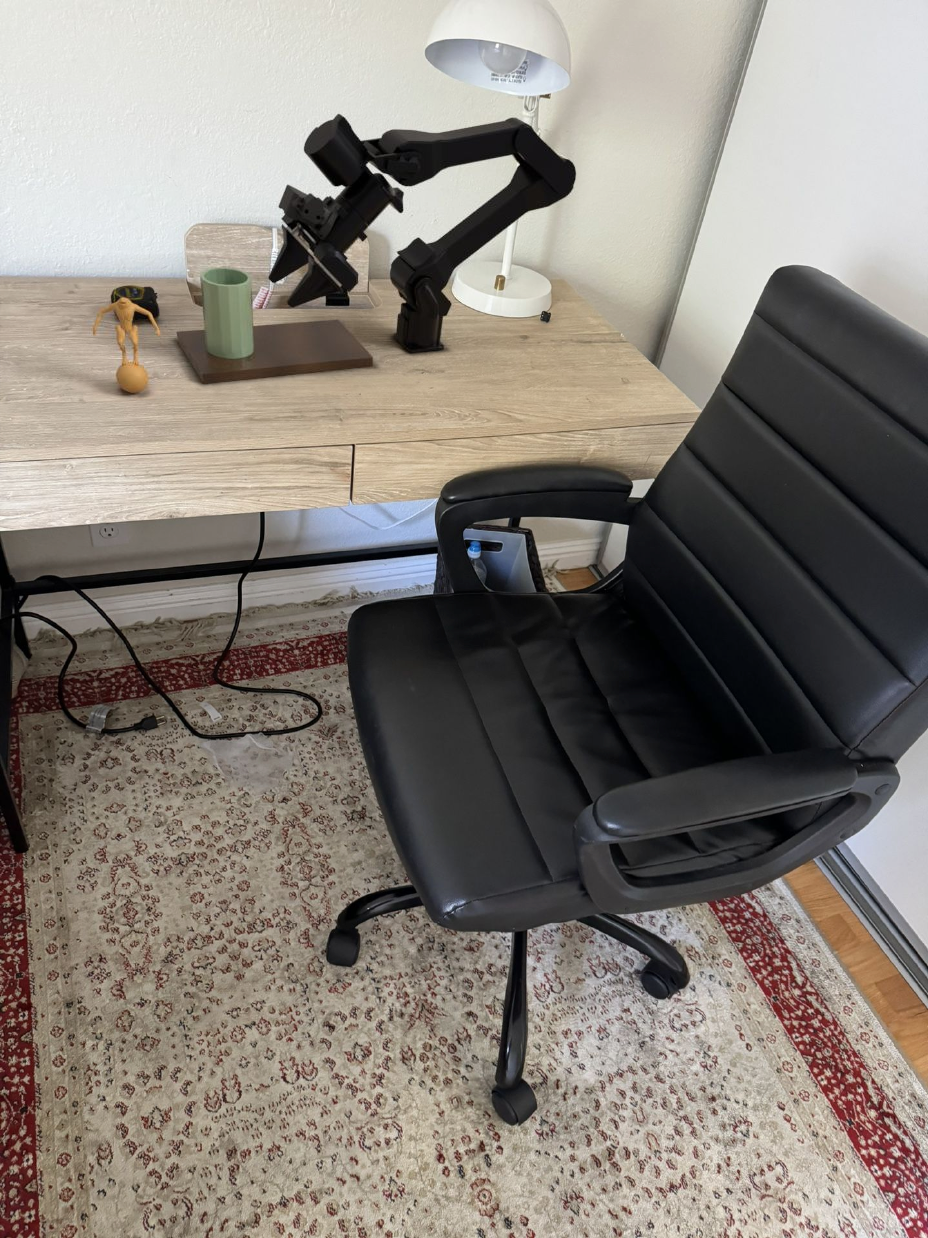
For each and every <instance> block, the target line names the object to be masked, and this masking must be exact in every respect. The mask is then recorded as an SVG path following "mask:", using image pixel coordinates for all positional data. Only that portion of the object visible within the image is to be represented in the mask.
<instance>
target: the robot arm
mask: <svg viewBox="0 0 928 1238" xmlns="http://www.w3.org/2000/svg"><path fill="white" fill-rule="evenodd" d="M303 152H304V154H305V155H306V156H307V157H308V158H309V160H310V161H311V162H312V163H313V164H314V166H315V167H316V168H317V169H318V170H319V171H320V172H321V174H322V175H323V177H325V179H326V180H327V181H328V182H329V183H330V185H332V186H333V187H341V186H342V187H344V188H343V189H342V190H341V191H340V192H339V193H338V195H337V196H335V198H333V197H332V195H329V196H327V195H326V197H324V199H321V198H320V197H319V196H318V197H317V196H315V195H314V194H313V193H311V192H310V193H308V194H307V193H305V192H304V191H302V190H300V189H298V188H296V187H295V186H292V185H290V184H286V186H285V189H284V191H283V194H282V196H281V199H280V201H279V204H278V208H279V209H280V210H282V211H283V214H284V215H283V216H282V217H281V218H280V219H281V220H282V222H283V223H284V224H283V223H282V224H281V230H282V238H283V242H282V246H281V248H280V251H279V253H278V255H277V257H276V260H275V262H274V264H273V266H272V268H271V271H269V275H268V281H270V282H271V283H272V284H275V283H278V282H279V281H281V280H283V279H285V278H286V277H288V276H290V275H291V274H294V272H296V271H298V270H299V269H301V268H303V267H304V266H306V265H308V266H307V271H306V273H305V274H304V276H303V277H302V279H300V281H299V283H298V284H297V286H296V287H295V288H294V290H293V291H292V293H291V294H290V296H289V297H288V298H287V300H286V305H288V306H289V307H290V308H296V307H299V306H302V305H303V304H304V305H305V304H306V303H309V302H312V301H314V300H317V299H318V300H319V299H320V298H323V297H327V296H329V295H333V294H336V293H337V294H338V293H340V294H342V293H344V290H345V291H347V292H348V293H350V292H351V291H352V290H354V288H355V287H357V285H359V272H358V271H357V270H356V269H355V268H354V267H353V266H352V265H351V264H350V262H348V256H347V255H346V252H347V251H349V249H350V248H351V247H352V246H353V245H354V244H355V242H357V241H358V239H359V240H360V241H361V242H362V243H363V242H365V240H367V238H368V237H369V236H368V235H367V234H366V233H365V232H366V230H368V228H369V227H370V226H371V225H372V224H373V223H374V222H375V221H376V219H377V218H378V217H379V216H380V215H381V214H382V213H383V212H384V211H385V210H386V208H387V207H389V206H391V207H392V208H393V209H394V210H395V211H397V212H398V213H399V214H402V213H404V195H405V192H404V191H403V190H402V189H401V188H399V187H393V185H392V184H390V182H389V181H388V179H387V178H386V177H385V176H384V175H387V176H388V177H390V178H391V179H392V180H394V181H395V182H397V183H398V184H399V185H401V186H403V187H414V186H417V185H419V184H422V183H424V182H426V181H429V180H431V179H433V178H435V177H436V176H437V175H438V174H439V173H440V172H442V171H444V170H446V169H449V168H453V167H457V166H462V165H468V164H471V163H472V164H473V163H477V162H482V161H489V160H493V159H498V158H504V157H507V156H512V158H514V160H515V161H516V162H517V163H518V166H517V167H516V168H515V171H514V173H513V176H512V177H511V180H510V182H509V183H508V184H507V185H506V186H505V187H504V188H502V189H501V190H500V191H498V192H497V193H496V194H495V195H493V196H492V197H491V198H490V199H488V200H486V202H484V203H483V204H482V205H481V206H479V207H478V208H477V209H476V210H474V211H473V212H471V213H470V214H469V215H468V216H467V217H465V218H464V219H463V220H461V221H460V222H459V223H457V224H456V225H455V226H454V227H452V228H451V229H450V230H449V231H447V232H445V234H443V235H442V236H440V238H438V239H437V240H435V241H433V242H428V243H426V242H425V241H424V240H422V238H420V237H416V238H415V239H413V240H412V241H411V242H410V243H409V244H408V245H407V246H406V247H404V248H403V249H400V250H397V251H396V254H397V255H398V256H396V257H395V258H394V259H393V261H392V262H391V264H390V270H389V280H390V282H391V284H392V285H393V286H394V288H395V289H396V290H397V292H398V296H399V297H400V298H401V299H402V300H404V302H401V303H400V312H399V313H398V314H397V317H396V318H397V319H396V329H395V330H396V331H395V333H393V338H395V339H396V341H398V342H399V343H400V344H401V346H403V348H404V349H406V351H407V352H409V353H420V352H421V353H422V352H430V351H441V350H445V345H444V344H443V343H442V342H441V339H442V338H441V336H442V329H443V328H442V327H443V322H444V317H447V316H448V314H449V312H450V309H451V307H452V305H453V304H452V302H451V300H449V298H448V297H447V296H446V295H445V293H444V292H443V291H444V289H445V288H446V287H447V285H448V283H449V281H450V279H451V277H452V275H453V273H454V271H455V270H456V268H457V267H459V266H460V265H461V264H462V263H464V262H465V261H467V260H468V259H469V258H470V257H471V256H473V255H475V254H476V253H477V252H478V251H479V250H480V249H482V248H483V247H484V246H486V245H487V244H488V243H489V242H491V241H492V240H493V239H495V238H496V237H497V236H499V235H500V234H501V233H502V232H503V231H505V230H506V229H508V228H509V227H510V226H511V225H513V224H514V223H515V222H517V221H518V220H519V219H521V218H522V217H523V216H525V215H526V214H527V213H529V212H532V211H537V210H540V209H546V208H549V207H551V206H552V205H555V204H556V203H558V202H560V201H562V200H564V199H565V198H567V197H568V196H569V195H570V194H571V193H572V191H573V190H574V188H575V186H574V185H575V183H576V180H577V179H576V178H577V171H576V166H575V164H574V162H573V161H572V160H570V159H569V158H567V157H566V156H564V155H562V154H561V153H558V152H556V151H555V150H554V149H552V147H551V146H549V144H547V143H546V142H545V141H544V140H543V139H542V137H540V135H538V133H537V132H536V131H535V129H534V128H533V126H532V125H531V124H528V123H527V122H524V121H523V120H522V119H519V118H518V117H509V118H507V119H505V120H500V121H496V122H490V123H485V124H479V125H474V126H469V127H468V126H467V127H462V128H458V129H452V130H451V129H450V130H446V131H441V132H428V131H422V130H416V129H401V128H397V129H396V128H393V129H389V130H387V131H384V133H382V135H381V137H377V138H370V139H362V140H361V139H360V138H359V137H358V135H357V134H356V133H355V131H354V129H353V127H352V125H351V124H350V122H349V121H348V119H347V118H346V117H345V116H343V114H340V113H337V114H336V115H335V116H334V118H333V119H329V120H326V121H325V122H323V123H322V124H320V125H319V126H316V127H314V128H313V130H312V131H311V132H310V133H309V135H308V136H307V138H306V140H305V141H304V145H303ZM368 164H370V165H372V166H373V167H374V168H375V169H376V170H378V171H379V172H375V173H373V172H372V170H370V168H369V167H368ZM284 225H286V226H284ZM309 250H310V251H311V252H312V253H313V254H312V253H311V252H310V251H309ZM315 258H316V260H317V261H318V262H317V261H316V260H315ZM342 287H343V288H344V289H342Z"/></svg>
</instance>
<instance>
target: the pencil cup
mask: <svg viewBox="0 0 928 1238" xmlns="http://www.w3.org/2000/svg"><path fill="white" fill-rule="evenodd" d="M199 277H200V278H199V279H200V280H199V281H200V292H201V304H202V305H201V306H202V316H203V318H202V319H203V330H204V331H205V343H206V349H207V351H208V352H209V353H211V354H212V355H214V356H217V357H221V358H227V359H238V358H243V357H247V356H249V355H251V354H252V353H253V351H254V329H253V326H254V308H253V305H254V304H253V281H252V278H253V277H252V276H251V275H250V273H248V272H246V271H244V270H243V269H242V270H241V269H238V268H233V267H224V266H223V267H211V268H207V269H205V270H203V271H201V273H200V274H199Z"/></svg>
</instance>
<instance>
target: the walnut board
mask: <svg viewBox="0 0 928 1238" xmlns="http://www.w3.org/2000/svg"><path fill="white" fill-rule="evenodd" d="M253 329H254V351H253V353H252V354H251V355H249V356H247V357H243V358H238V359H227V358H221V357H217V356H214V355H212V354H211V353H209V352H208V351H207V349H206V343H205V331H204V329H193V330H181V331H180V330H179V331H176V339H177V340H176V341H177V342H178V344H179V346H180V348H181V350H182V351H183V352H184V354H185V356H186V358H187V359H188V361H189V362H190V364H191V366H192V368H193V370H194V371H195V373H196V374H197V376H198V378H199V379H200V381H201V382H202V384H203V385H205V384H213V383H214V384H215V383H222V382H224V383H225V382H232V381H242V380H243V381H244V380H253V379H263V378H271V377H280V376H290V375H291V376H292V375H301V374H310V373H319V372H329V371H338V370H347V369H357V368H366V367H367V368H369V367H373V362H374V357H373V355H372V354H371V353H370V352H369V351H368V350H367V349H366V347H364V346H363V344H362V343H361V342H360V341H359V339H357V338H356V336H354V334H352V332H351V331H350V330H349V329H348V328H347V327H346V326H345V325H344V324H343V323H342V322H341V320H340V319H327V320H314V321H299V322H286V323H273V324H261V325H253Z"/></svg>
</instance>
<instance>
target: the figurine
mask: <svg viewBox="0 0 928 1238" xmlns="http://www.w3.org/2000/svg"><path fill="white" fill-rule="evenodd" d="M114 310H115V311H116V313H115V315H116V316H117V318H118V320H119V322H120V324H116V325H115V331H116V341H117V345H118V347H119V350H120V351H121V356H122V362H121V365H119V366H118V368H117V370H116V373H115V378H116V381H117V384H118V385H119V387H120V388H121V389H122V390H124V391H126V392H128V393H131V394H137V393H140V392H142V391H143V390H145V389H146V387H147V385H148V384H149V383H148V382H149V375H148V372H147V370H146V369H145V368H144V366H142V365H141V364H140V363H139V358H138V357H139V356H138V350H139V346H138V344H139V335H138V334H139V327H138V326H137V325H133V321H134V320H133V316H134V311H137V312H140V313H143V314H145V315H148V316H149V318H150V319H149V320H150V322H151V324H152V326H153V328H154V329H155V330H156V331H155V335H157V338H158V339H160V338H162V334H161V331H160V328H159V327H158V324H157V322H156V321H155V318H154V319H153V316H152V314H151V313H150V312H149V311H147V310H145V309H143V308H141V307H139V306H138V305H136V304H133V303H132V302H131V301H130V300H129V299H127V298H123V297H121V298H120V299H119V300H118V301H117V302H116V303H112V304H111V303H110V304H109V305H107V306H105V307H103V308H101V309H100V310H99V311H98V313H97V317H96V319H95V321H94V325H93V327H92V335H93V336H94V337H96V335H97V333H98V330H97V327H98V326H99V324H100V322H101V319H102V317H103V314H107V313H110V312H112V311H114ZM126 334H128V338H129V340H130V341H131V343H132V345H133V346H132V350H133V360H132V361H128V358H127V351H126V346H125V345H124V342H125V340H126Z"/></svg>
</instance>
